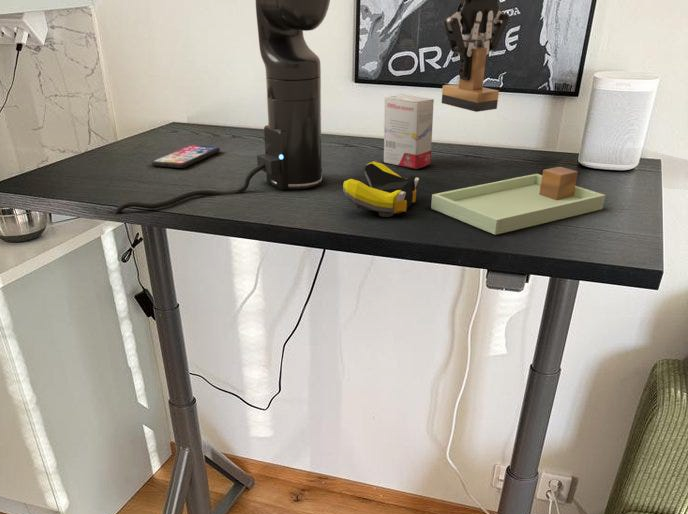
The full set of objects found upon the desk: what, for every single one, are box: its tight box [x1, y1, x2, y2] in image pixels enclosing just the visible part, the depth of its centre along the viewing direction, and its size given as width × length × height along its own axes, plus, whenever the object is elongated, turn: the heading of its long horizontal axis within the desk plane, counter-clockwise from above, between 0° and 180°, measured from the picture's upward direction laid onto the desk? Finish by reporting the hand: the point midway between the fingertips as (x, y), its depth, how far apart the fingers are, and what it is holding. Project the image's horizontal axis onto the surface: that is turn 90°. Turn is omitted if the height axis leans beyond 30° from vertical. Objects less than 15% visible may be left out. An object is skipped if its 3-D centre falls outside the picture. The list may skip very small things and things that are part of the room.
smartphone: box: [151, 144, 221, 169], centre depth 147 cm, size 8×1×15 cm
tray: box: [430, 173, 606, 236], centre depth 119 cm, size 24×16×2 cm, turn 122°
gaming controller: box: [342, 161, 420, 218], centre depth 120 cm, size 15×6×10 cm
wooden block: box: [539, 166, 579, 200], centre depth 122 cm, size 4×4×4 cm
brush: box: [441, 45, 500, 113], centre depth 133 cm, size 5×10×10 cm, turn 32°
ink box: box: [383, 93, 435, 170], centre depth 140 cm, size 9×5×12 cm, turn 44°
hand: (471, 78), depth 134 cm, fingers closed on brush, 2 cm apart
